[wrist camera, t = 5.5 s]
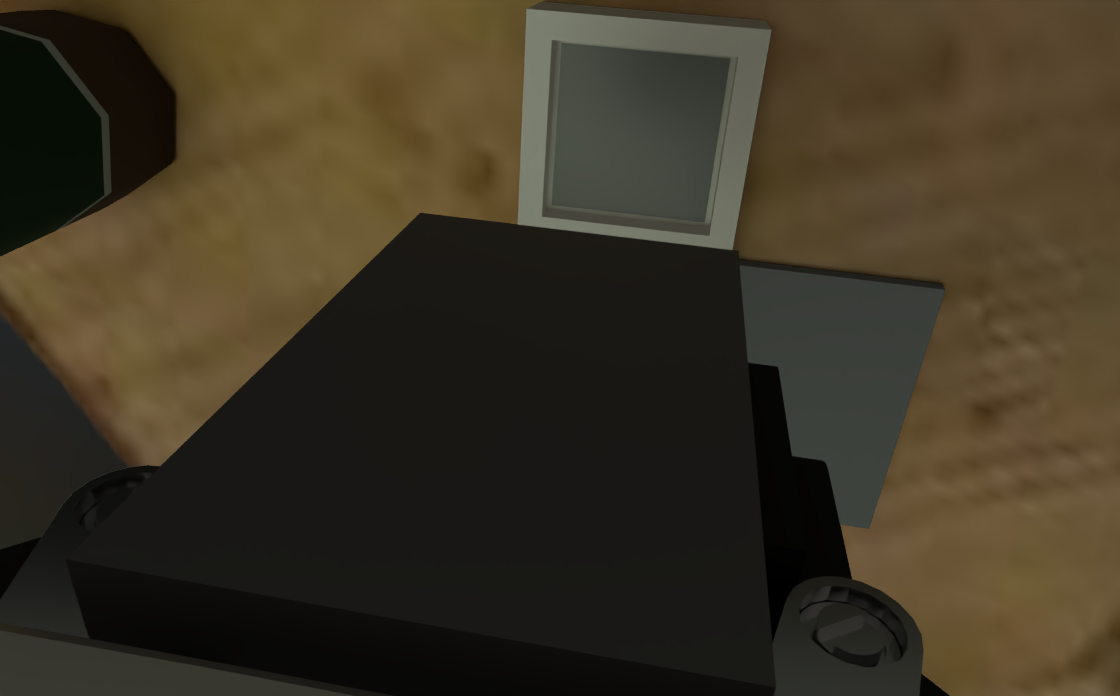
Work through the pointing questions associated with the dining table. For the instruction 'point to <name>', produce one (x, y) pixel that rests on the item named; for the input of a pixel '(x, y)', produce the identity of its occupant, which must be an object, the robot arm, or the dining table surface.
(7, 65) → the beer bottle
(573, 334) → the block
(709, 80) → the power strip
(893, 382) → the mat
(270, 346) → the dining table surface
